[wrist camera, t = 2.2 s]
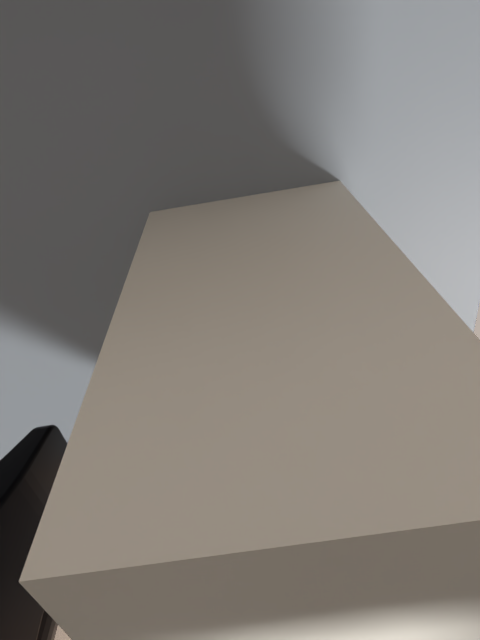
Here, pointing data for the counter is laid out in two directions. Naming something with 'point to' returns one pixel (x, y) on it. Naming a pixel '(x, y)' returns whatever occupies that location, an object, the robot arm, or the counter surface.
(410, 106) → the shelf
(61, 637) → the counter surface
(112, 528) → the tea box
